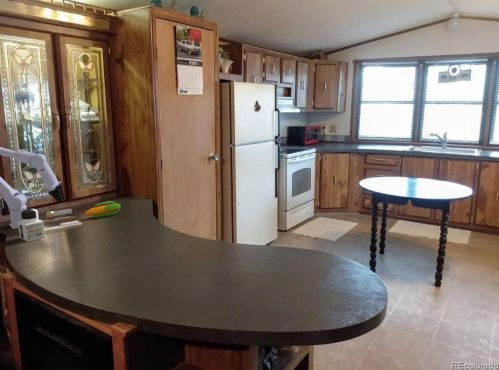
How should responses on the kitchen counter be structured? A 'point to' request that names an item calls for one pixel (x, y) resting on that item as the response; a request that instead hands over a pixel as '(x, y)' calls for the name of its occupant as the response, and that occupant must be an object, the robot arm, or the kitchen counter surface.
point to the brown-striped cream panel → (60, 224)
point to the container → (30, 225)
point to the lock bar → (58, 212)
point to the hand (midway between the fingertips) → (62, 200)
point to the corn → (104, 210)
